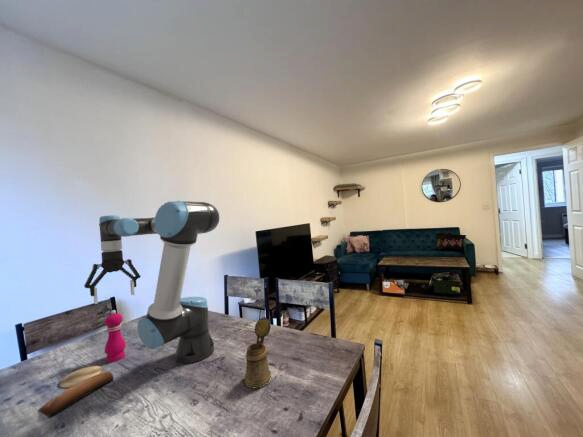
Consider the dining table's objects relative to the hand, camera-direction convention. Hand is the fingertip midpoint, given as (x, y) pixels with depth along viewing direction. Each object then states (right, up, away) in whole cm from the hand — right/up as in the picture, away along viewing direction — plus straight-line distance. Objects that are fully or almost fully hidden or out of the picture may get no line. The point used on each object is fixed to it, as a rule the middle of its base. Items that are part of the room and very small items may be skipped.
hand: (115, 299), depth 111 cm
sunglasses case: (+7, -24, -28) cm, 37 cm away
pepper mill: (+4, -23, -5) cm, 24 cm away
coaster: (0, -23, -18) cm, 29 cm away
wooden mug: (+67, -20, -23) cm, 73 cm away
